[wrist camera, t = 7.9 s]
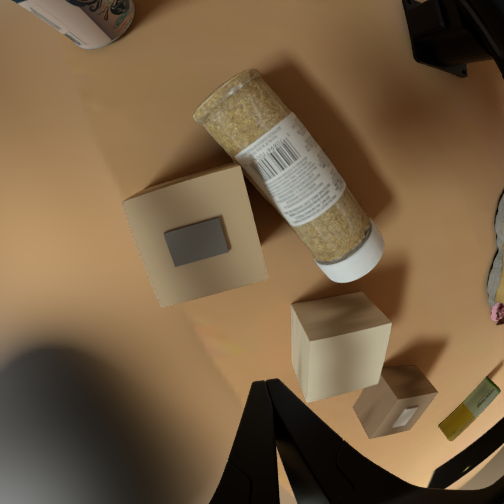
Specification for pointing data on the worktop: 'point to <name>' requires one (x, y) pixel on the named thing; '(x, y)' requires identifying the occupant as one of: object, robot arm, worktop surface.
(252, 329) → the worktop surface
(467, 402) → the medication box
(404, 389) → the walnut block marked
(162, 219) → the oak block marked
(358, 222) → the granule seasoning jar
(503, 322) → the pastel sphere sculpture
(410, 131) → the worktop surface
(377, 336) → the plain birch block
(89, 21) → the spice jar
